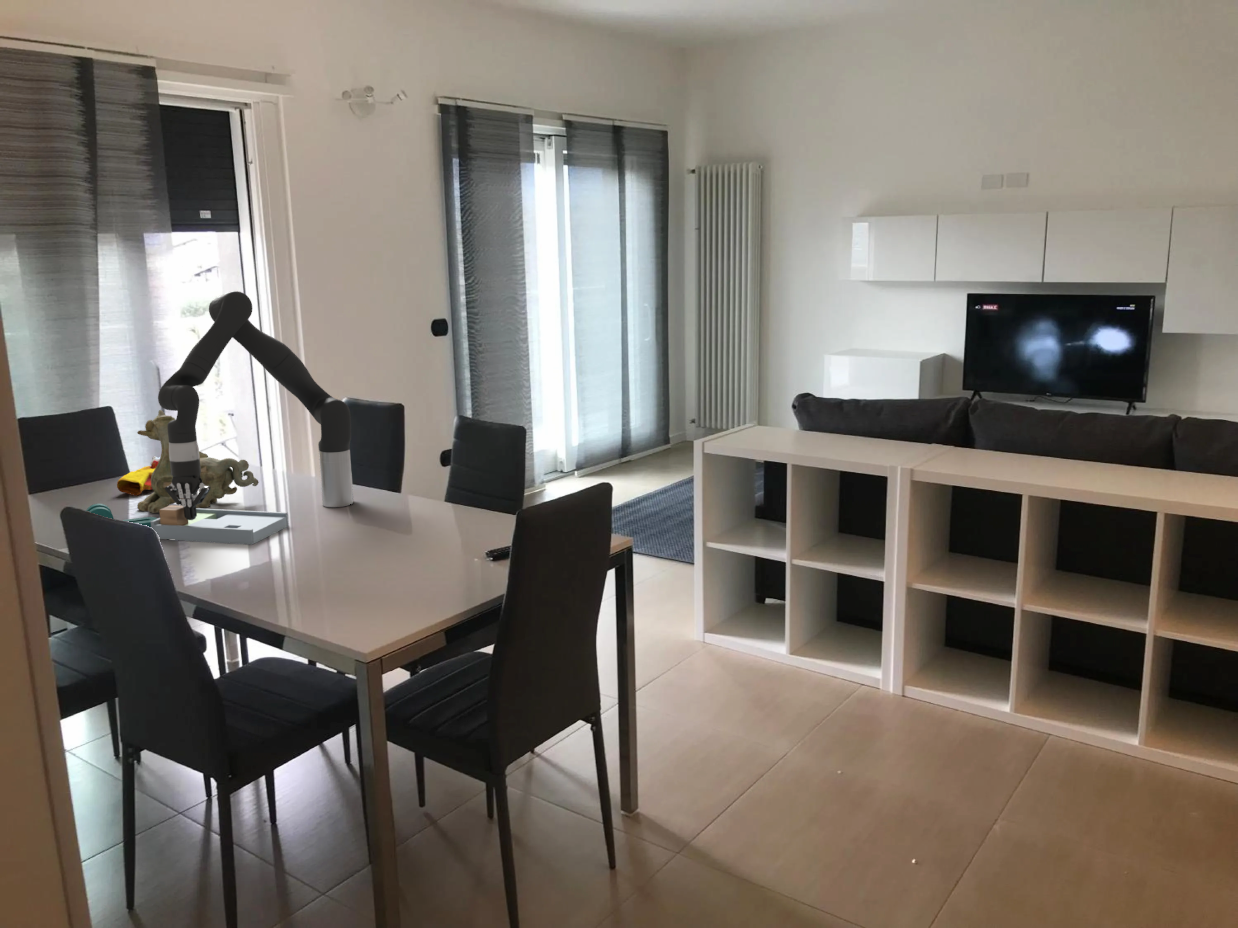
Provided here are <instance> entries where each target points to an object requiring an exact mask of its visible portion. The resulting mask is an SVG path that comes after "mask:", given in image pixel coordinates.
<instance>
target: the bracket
mask: <svg viewBox="0 0 1238 928" xmlns="http://www.w3.org/2000/svg"><path fill="white" fill-rule="evenodd" d="M86 511H89V512H91V513H95V514H98V515H101V517H103V516H104V517H108V518H112V519H114V515H113V513H112V511H111V509H110V507H109V506H108V505H106V504H104V503H94V504H92V505H89V507H87V509H85V512H86ZM155 519H158V518H157V517H155V516H146V517H145V516H144V517H135V518H128V519H127V518H126V519H122V520H123V521H129V522H133V523H139V524H142V525H147V526H149V527H151V521H153V520H155ZM114 520H115V519H114Z"/></svg>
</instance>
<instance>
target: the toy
mask: <svg viewBox="0 0 1238 928" xmlns="http://www.w3.org/2000/svg"><path fill="white" fill-rule="evenodd" d="M160 457H161V456H159V457H158V456H155V455H154V456H152V460H151V461H150V465H147V466H143V467H141V468H138V469H136V470H135V471H134V470H132V471H130V472H128V473H127V474H124V475H123V476H122V477H120V478H118V480H117V482H116V488H117V490H118V491H119V492H120V493H124V494H128V495H131V496H134V497H137V496H140V495H142V492H143V491H144V490H149V491H153V489H152V487H151V476H152V473H153V471H154V470H155V469H156V467H157V465H158V463H159V460H160Z"/></svg>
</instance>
